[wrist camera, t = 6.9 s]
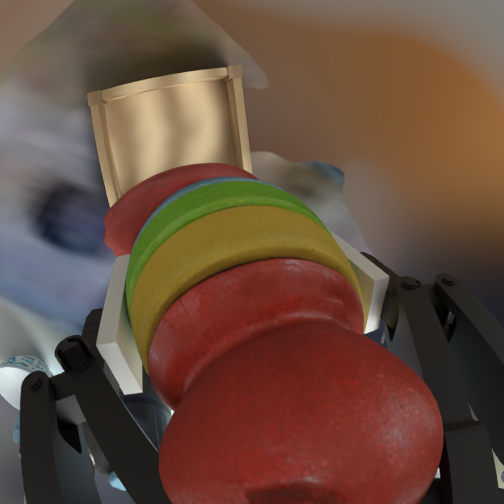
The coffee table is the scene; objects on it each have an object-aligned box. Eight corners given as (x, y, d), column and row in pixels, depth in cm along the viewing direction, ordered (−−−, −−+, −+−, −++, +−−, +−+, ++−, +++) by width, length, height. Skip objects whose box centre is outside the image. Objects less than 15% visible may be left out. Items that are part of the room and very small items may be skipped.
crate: (122, 224, 38) (117, 238, 33) (96, 97, 30) (86, 93, 25) (245, 196, 42) (257, 206, 37) (230, 72, 34) (241, 64, 29)
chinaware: (46, 398, 46) (40, 424, 39) (-6, 357, 38) (-16, 383, 32) (81, 374, 46) (77, 404, 39) (24, 326, 39) (11, 354, 32)
